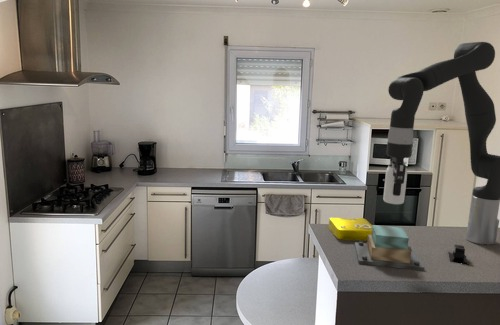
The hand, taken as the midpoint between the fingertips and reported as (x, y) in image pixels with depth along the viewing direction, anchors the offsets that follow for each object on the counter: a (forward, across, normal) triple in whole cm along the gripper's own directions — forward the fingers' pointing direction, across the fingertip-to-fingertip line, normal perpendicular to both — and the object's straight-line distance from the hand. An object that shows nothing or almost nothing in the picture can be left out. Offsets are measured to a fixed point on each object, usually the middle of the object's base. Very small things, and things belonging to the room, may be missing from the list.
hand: (394, 192), depth 134 cm
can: (+3, 0, 0) cm, 3 cm away
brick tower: (+22, 0, 0) cm, 22 cm away
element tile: (+23, +20, +10) cm, 32 cm away
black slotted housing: (+23, +6, -24) cm, 34 cm away
